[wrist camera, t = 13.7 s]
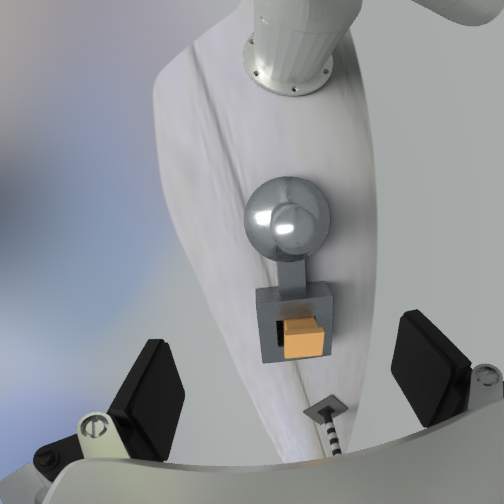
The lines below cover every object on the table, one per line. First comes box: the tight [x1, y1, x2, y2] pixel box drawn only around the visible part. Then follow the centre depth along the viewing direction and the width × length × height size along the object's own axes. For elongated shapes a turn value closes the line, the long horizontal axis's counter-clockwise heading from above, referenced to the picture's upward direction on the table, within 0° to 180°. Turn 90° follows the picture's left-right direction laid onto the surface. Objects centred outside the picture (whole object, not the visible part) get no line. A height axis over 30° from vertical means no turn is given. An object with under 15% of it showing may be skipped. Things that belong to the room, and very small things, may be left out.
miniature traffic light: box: [303, 395, 348, 456], centre depth 32 cm, size 8×8×30 cm
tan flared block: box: [282, 316, 324, 359], centre depth 36 cm, size 4×5×9 cm
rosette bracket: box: [244, 177, 333, 363], centre depth 34 cm, size 26×11×10 cm, turn 6°
